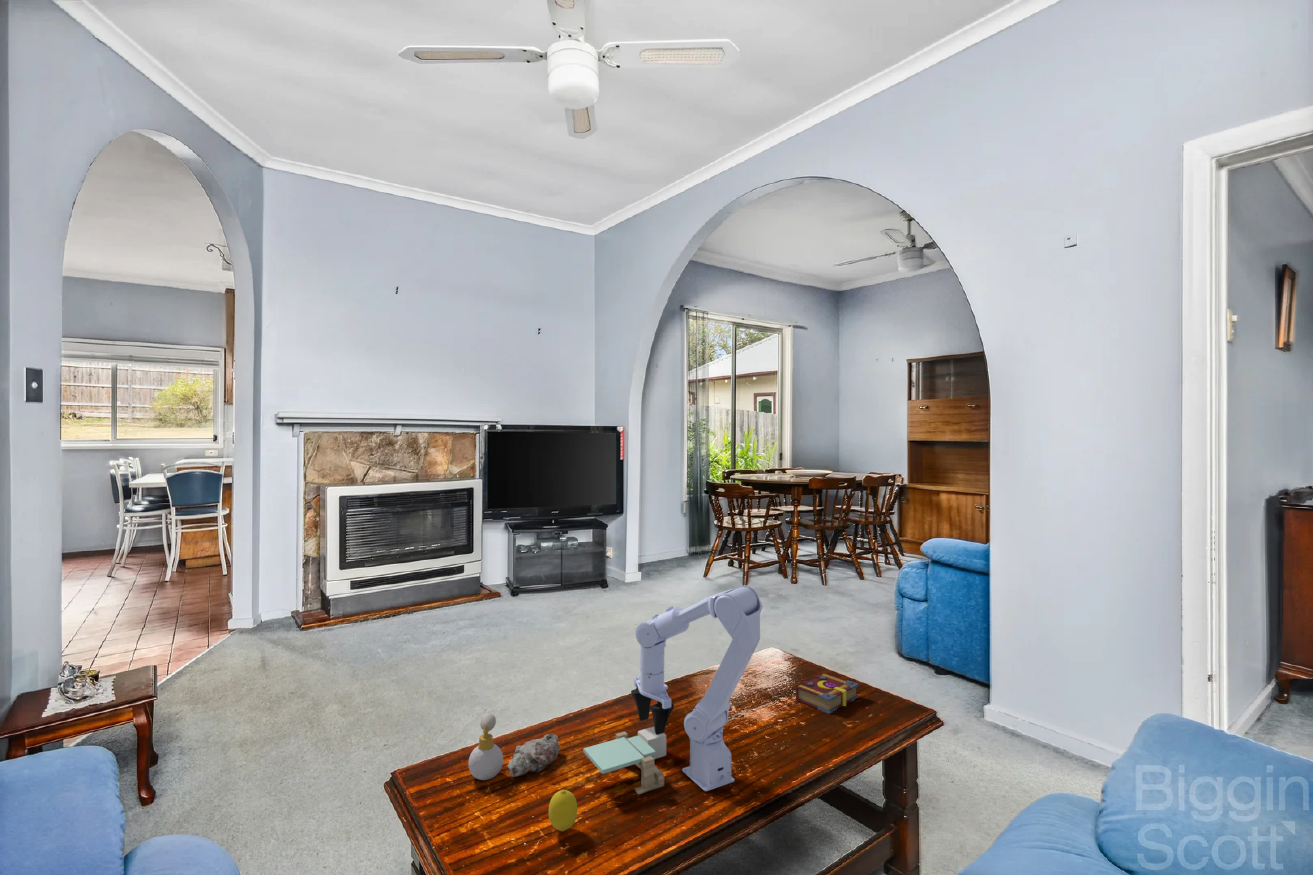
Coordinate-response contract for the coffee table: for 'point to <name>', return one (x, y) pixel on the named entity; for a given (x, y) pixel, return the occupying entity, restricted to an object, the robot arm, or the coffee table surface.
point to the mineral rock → (534, 755)
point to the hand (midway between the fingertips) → (651, 726)
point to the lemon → (563, 810)
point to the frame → (647, 772)
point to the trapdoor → (618, 753)
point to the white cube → (654, 741)
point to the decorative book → (826, 692)
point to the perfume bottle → (486, 752)
